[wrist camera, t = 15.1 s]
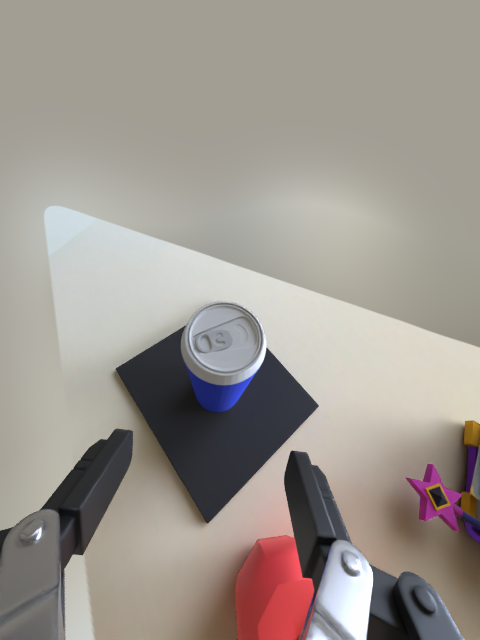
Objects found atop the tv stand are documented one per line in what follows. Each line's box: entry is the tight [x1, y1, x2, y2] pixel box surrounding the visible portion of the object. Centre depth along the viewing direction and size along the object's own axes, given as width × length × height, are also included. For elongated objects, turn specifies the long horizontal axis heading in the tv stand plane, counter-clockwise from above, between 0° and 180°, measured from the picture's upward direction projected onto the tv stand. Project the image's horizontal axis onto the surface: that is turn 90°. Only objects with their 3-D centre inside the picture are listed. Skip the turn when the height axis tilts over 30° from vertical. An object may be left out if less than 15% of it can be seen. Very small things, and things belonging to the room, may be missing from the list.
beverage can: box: [181, 301, 266, 412], centre depth 19 cm, size 5×5×15 cm
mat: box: [116, 326, 319, 523], centre depth 26 cm, size 16×18×1 cm
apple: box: [235, 535, 314, 640], centre depth 16 cm, size 8×8×8 cm
